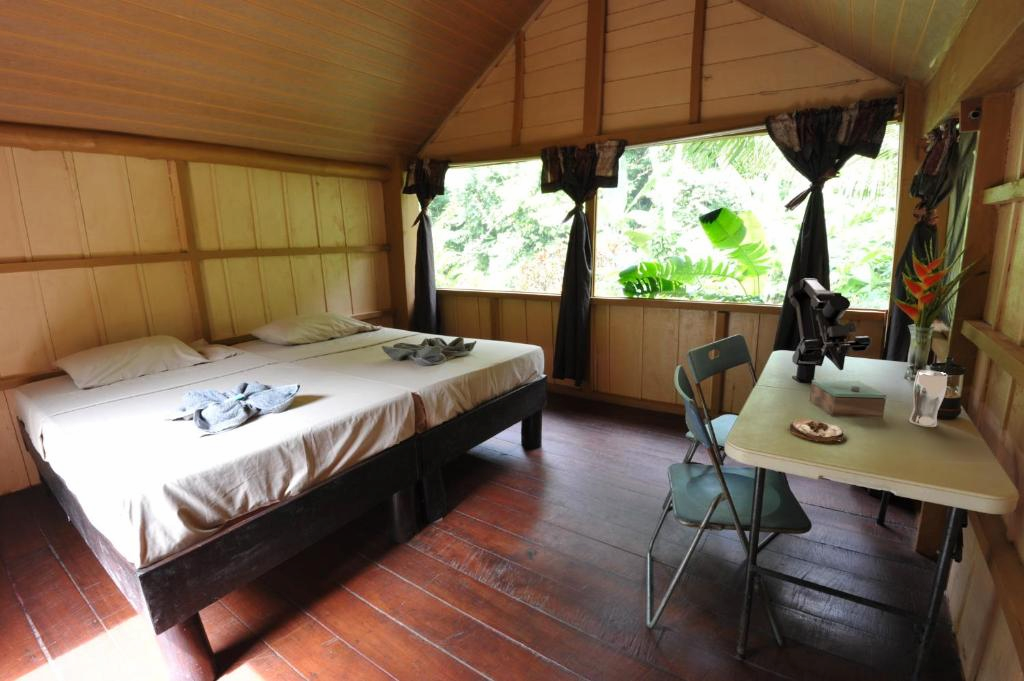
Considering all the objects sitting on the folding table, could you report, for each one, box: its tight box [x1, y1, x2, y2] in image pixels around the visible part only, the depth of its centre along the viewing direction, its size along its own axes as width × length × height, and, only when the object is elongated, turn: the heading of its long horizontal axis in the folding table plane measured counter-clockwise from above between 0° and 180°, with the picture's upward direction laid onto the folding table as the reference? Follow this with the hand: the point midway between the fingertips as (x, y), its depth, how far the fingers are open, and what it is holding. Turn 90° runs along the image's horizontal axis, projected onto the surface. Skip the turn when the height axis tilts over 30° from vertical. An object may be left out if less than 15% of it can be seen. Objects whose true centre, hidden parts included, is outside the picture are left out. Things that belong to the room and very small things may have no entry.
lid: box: [811, 379, 887, 399], centre depth 150 cm, size 14×14×2 cm
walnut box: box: [808, 382, 887, 419], centre depth 151 cm, size 14×14×6 cm
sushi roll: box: [789, 417, 844, 443], centre depth 134 cm, size 15×15×4 cm
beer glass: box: [909, 369, 948, 428], centre depth 139 cm, size 7×7×15 cm
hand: (841, 369), depth 153 cm, fingers closed
